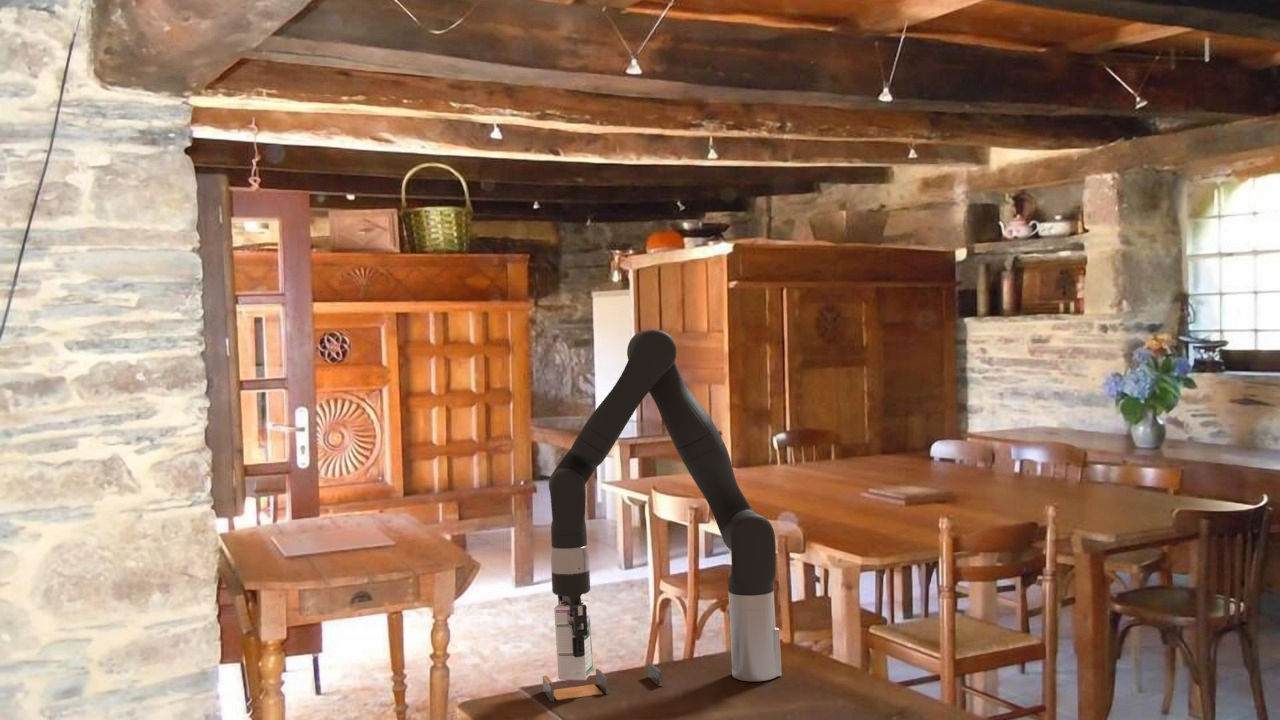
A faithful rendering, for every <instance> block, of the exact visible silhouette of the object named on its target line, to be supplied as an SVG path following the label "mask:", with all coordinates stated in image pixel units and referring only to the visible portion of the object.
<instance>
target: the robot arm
mask: <svg viewBox="0 0 1280 720" xmlns="http://www.w3.org/2000/svg"><path fill="white" fill-rule="evenodd" d="M626 349H627V350H626V355H627V362H626V364H625V367H624V368H623V371H622V373H621V375H620V376H619V378H618V379H617V381H616V383H615V384H614V386H613V387H612V389H611V390H610V391H609V393H608V394H607V395H606V396H605V397H604V399H603V401H601V402H600V403H599V405H598V406H597V408H596V409H594V411H593V413H592V414H591V415H590V417H589V418H588V419H587V421H586V423H584V426H583V427H582V428H581V430H580V431H579V433H578V434H577V437H576V438H575V440H574V442H573V443H572V446H571V448H570V449H569V450H568V452H567V453H566V454H565V455H564V457H562V459H561V460H560V462H559V463H558V464H557V466H556V467H555V468H554V470H553V472H552V474H551V475H550V477H549V480H548V490H549V493H550V494H549V495H550V503H551V504H550V506H551V518H552V520H551V523H550V524H551V525H550V535H551V537H550V538H551V553H550V555H551V556H550V566H551V567H550V568H551V586H552V587H551V591H552V593H553V594H554V595H556V596H557V600H558V601H557V602H558V604H557V605H559V604H564V603H566V604H564V606H566V605H569V607H570V614H569V612H567V611H566V610H565V611H566V613H567V625H568V627H569V628H571V633H572V634H571V635H572V644H573V656H574V657H582V656H584V655H585V648H584V637H585V636H587V634H588V631H587V611H586V609H587V607H586V605H582V604H583V602H582V603H581V600H582V597H581V596H583V595H585V594H587V593H589V592H590V591H591V576H590V573H591V572H590V571H591V570H590V555H589V551H588V550H589V549H588V536H587V524H586V507H587V506H586V505H587V504H586V503H587V502H586V501H587V499H586V497H587V493H586V492H587V490H586V488H587V487H586V485H587V482H588V481H589V480H590V478H591V477H592V475H593V474H594V472H595V470H596V468H597V467H598V466H601V464H602V463H603V462H604V461H605V459H606V457H608V455H609V453H610V451H611V450H612V448H614V446H615V444H616V442H617V440H618V439H619V437H620V436H621V434H622V433H623V431H624V429H625V427H626V426H627V424H628V422H629V421H630V419H631V418H632V416H633V414H634V413H635V411H636V410H637V409H638V407H639V405H640V404H641V402H642V401H643V400H644V399H645V398H646V396H647V395H648V393H649V394H650V396H651V397H652V400H653V401H654V403H655V405H656V407H657V410H658V411H659V414H660V417H661V419H662V421H663V424H664V425H665V429H666V431H667V432H668V435H669V437H670V439H671V441H672V443H673V446H674V447H675V449H676V451H677V453H678V455H679V456H680V459H681V461H682V462H683V464H684V465H685V468H686V469H687V471H688V473H689V475H690V476H691V479H692V480H693V481H694V483H695V484H696V486H697V488H698V489H699V490H700V493H702V495H703V497H704V498H705V500H706V502H707V504H708V506H709V509H710V510H711V513H712V515H713V517H714V521H715V522H716V525H717V528H718V530H719V533H720V536H721V538H722V540H723V542H724V544H725V546H726V547H727V548H728V550H729V551H731V552H730V555H731V556H730V557H731V570H730V572H731V573H730V575H729V577H728V578H727V587H728V589H727V590H728V610H729V611H728V612H729V613H728V614H729V632H730V636H729V637H730V654H731V658H730V659H731V672H732V673H731V675H732V677H733V678H734V679H736V680H739V681H744V682H764V681H769V680H773V679H775V678H777V677H782V656H781V655H782V654H781V636H780V635H781V634H780V632H781V631H780V628H778V627H776V615H775V613H776V612H775V611H776V610H775V594H774V593H775V591H774V589H775V587H774V583H775V579H776V576H777V575H776V574H777V558H776V555H777V553H776V552H777V551H776V549H777V548H776V536H775V531H774V530H775V529H774V527H773V525H772V524H771V522H770V521H769V520H768V519H767V518H766V517H765V516H763V515H761V514H759V513H756V512H755V510H754V509H753V508H752V506H751V504H750V502H748V501H747V499H746V497H745V495H744V494H743V492H742V490H741V488H740V487H739V484H738V482H737V479H736V476H735V474H734V469H733V465H732V461H731V458H730V455H729V454H730V453H729V451H728V449H727V446H726V445H725V442H724V440H723V438H722V435H721V434H720V433H719V430H718V428H717V426H716V425H715V423H714V421H713V420H712V418H711V417H710V415H709V414H708V413H707V411H706V409H705V408H704V407H703V405H702V404H701V403H700V402H699V401H698V399H697V398H696V397H695V396H694V394H693V393H692V392H691V390H690V388H688V386H687V384H686V383H685V380H684V379H683V377H682V374H681V373H680V370H679V368H678V366H677V364H676V359H677V345H676V343H675V341H674V339H673V337H672V335H669V333H667V332H665V331H663V330H660V329H648V330H647V329H646V330H642V331H639V332H636V334H635V335H633V336H632V337H631V339H630V340H629V342H628V345H627V348H626ZM562 601H563V602H562ZM570 616H571V617H573V621H571V619H570ZM578 625H581V630H577V626H578Z"/></svg>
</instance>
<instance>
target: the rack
mask: <svg viewBox="0 0 1280 720" xmlns="http://www.w3.org/2000/svg"><path fill="white" fill-rule="evenodd" d="M646 664H647V678H649V679H650V678H651V679H652V680H653V681H654V684H655V685H657V684H658V685H659V686H662V687H663V677H662V670H660V669H659V668H658V667H657V666H655V665H654V664H653V663H651V662H650V661H647V663H646ZM595 679H596V680H595V682H596V685H597V686H598V687H597V686H596V685H595V684H594V683H593V684H586V685H580V686H571V687H565V688H556V689H555V688H554V685H553V681H552V680H551V679H550V677H549V676H548V675H543V676H542V691H543V693H544V695H546V697H547V698H548V699H549V701H550V702H551V703H554V702H555V700H556V701H561V700H562V701H563V700H568V699H576V698H583V697H591V696H597V695H603V692H604V693H605V694H606V695H609V694H610V690H609V687H610V686H609V678H608V677H607V676H606V675H605V674H604V673H603V672H602V671H601V670H600V669H599V668H596V669H595ZM651 679H650V680H651ZM652 680H651V681H652ZM653 681H652V682H653ZM658 685H657V686H658ZM659 686H658V687H659ZM599 688H600V689H599Z"/></svg>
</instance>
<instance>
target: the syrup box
mask: <svg viewBox="0 0 1280 720" xmlns="http://www.w3.org/2000/svg"><path fill="white" fill-rule="evenodd" d="M562 602H563V601H562ZM582 602H583V604H582V605H586V607H587V609H586V611H587V631H588V634H587V636H585V637H584V648H585V655H584V656H582V657H574V656H573V644H572V635H571V634H572V633H571V628H569V627H568V625H567V613H566V611H567V612H569V614H570V607H569V605H566V606H564V604H566V603H564V604H559V605H558V604H557V606H555V607H554V608H553V611H554V626H555V627H554V629H555V642H556V657H557V672H558V673H557V674H558V679H559V680H562V681H587V679H588V678H589V677H590V676H591V674H592V673H593V672H594V664H593V648H592V632H591V631H592V630H591V619H590V605H589V604H590V603H589V600H584V599H581V603H582ZM565 610H566V611H565ZM570 619H571V621H573V617H571V616H570ZM577 630H581V625H578V626H577Z"/></svg>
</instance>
